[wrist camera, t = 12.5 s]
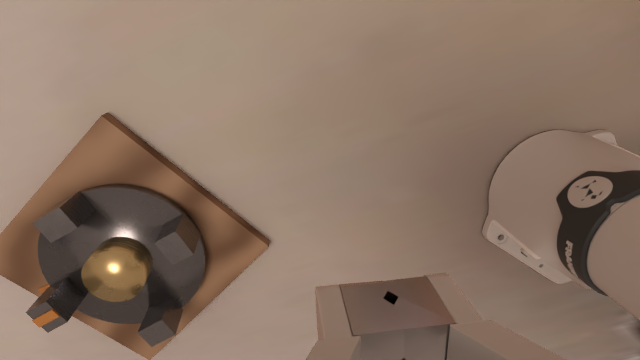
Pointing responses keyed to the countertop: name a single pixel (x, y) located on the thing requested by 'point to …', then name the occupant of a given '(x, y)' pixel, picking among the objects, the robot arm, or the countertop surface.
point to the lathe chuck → (118, 260)
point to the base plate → (147, 172)
